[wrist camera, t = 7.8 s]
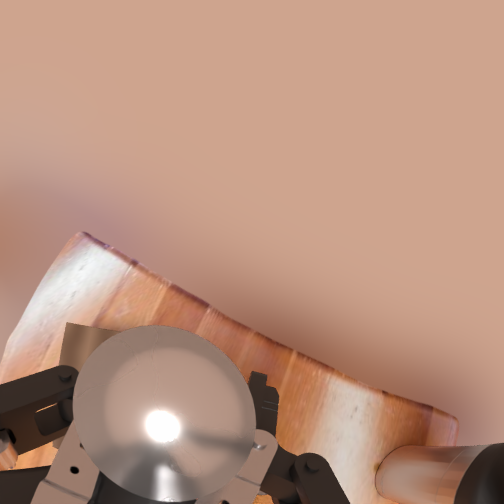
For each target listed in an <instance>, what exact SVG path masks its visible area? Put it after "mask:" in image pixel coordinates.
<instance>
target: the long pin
mask: <svg viewBox="0 0 504 504" xmlns="http://www.w3.org/2000/svg"><path fill="white" fill-rule="evenodd" d="M73 416H74V422H75V426H76V431H77V433H78V436H79V439H80V441H81V443H82V445H83V447H84V449H85V451H86V453H87V454H88V456H89V457H90V459H91V460H92V462H93V463H94V464H95V465H96V466H97V467H98V468H99V470H100V471H101V472H102V473H103V474H105V475H106V476H107V477H108V478H109V479H110V480H112V481H113V482H114V483H116V484H117V485H119V486H120V487H122V488H124V489H126V490H128V491H129V492H131V493H134V494H136V495H139V496H142V497H145V498H148V499H152V500H158V501H166V502H181V501H189V500H194V499H197V498H201V497H204V496H207V495H209V494H211V493H213V492H215V491H217V490H219V489H220V488H222V487H223V486H225V485H226V484H227V483H228V482H229V481H231V480H232V479H233V478H234V477H235V476H236V475H237V473H238V472H239V471H240V470H241V469H242V467H243V465H244V464H245V462H246V460H247V459H248V457H249V454H250V452H251V449H252V446H253V442H254V438H255V430H256V414H255V408H254V403H253V398H252V396H251V393H250V390H249V387H248V385H247V383H246V381H245V379H244V377H243V376H242V374H241V373H240V371H239V370H238V368H237V367H236V365H235V364H234V363H233V362H232V361H231V360H230V358H229V357H228V356H227V355H226V354H224V353H223V352H222V351H221V350H220V349H219V348H218V347H216V346H215V345H213V344H212V343H211V342H209V341H208V340H206V339H204V338H202V337H200V336H199V335H196V334H194V333H191V332H189V331H186V330H183V329H179V328H176V327H169V326H159V325H150V326H140V327H136V328H131V329H128V330H125V331H122V332H120V333H118V334H116V335H114V336H112V337H110V338H109V339H107V340H106V341H104V342H103V343H102V344H101V345H99V346H98V347H97V348H96V349H95V350H94V351H93V352H92V354H91V355H90V356H89V357H88V358H87V360H86V362H85V363H84V365H83V366H82V368H81V370H80V373H79V375H78V377H77V381H76V384H75V388H74V394H73Z"/></svg>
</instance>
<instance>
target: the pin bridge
mask: <svg viewBox="0 0 504 504" xmlns="http://www.w3.org/2000/svg"><path fill="white" fill-rule="evenodd" d="M118 333H120V331H113V330H107V329H101V328H95V327H89V326H83V325H78V324H73V323H68V322H67V323H66V328H65V333H64V338H63V343H62V349H61V355H60V361H59V366H60V365H68V366H71V367H74V368H75V369H77V370H78V372H79V373H80V370H81V368H82V366H83V365H84V363H85V362H86V360H87V358H88V357H89V356H90V355H91V354H92V352H93V351H94V350H95V349H96V348H97V347H98V346H99V345H101V344H102V343H103V342H104V341H106V340H107V339H109V338H110V337H112V336H114V335H116V334H118ZM54 405H56V403H55V404H54ZM64 437H65V436H62V437H60V438H58V439H56V440H54V441H53V447H55V448H57V449H59V448H60V445H61V443H62V441H63V439H64Z"/></svg>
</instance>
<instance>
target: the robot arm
mask: <svg viewBox="0 0 504 504" xmlns="http://www.w3.org/2000/svg"><path fill="white" fill-rule="evenodd" d="M78 375H79V372H78V370H77V369H75V368H74V367H71V366H68V365H60V366H56V367H53V368H50V369H47V370H44V371H41V372H38V373H35V374H32V375H29V376H26V377H23V378H20V379H17V380H14V381H10V382H7V383H4V384H1V385H0V504H252V503H253V501H254V499H255V497H256V496H257V494H258V492H259V490H260V491H262V492H264V493H266V494H268V495H270V496H271V497H272V500H273V503H274V504H350V502H349V500H348V499H347V497H346V495H345V493H344V491H343V489H342V488H341V486H340V484H339V482H338V480H337V478H336V477H335V475H334V473H333V471H332V469H331V467H330V465H329V463H328V462H327V461H326V459H324V458H323V457H322V456H320V455H318V454H315V453H304V454H301V455H299V456H296V455H294V454H292V453H289V452H287V451H286V450H284V449H283V448H282V447H280V445H279V444H278V442H277V440H276V437H275V434H276V424H277V414H278V412H277V411H278V403H279V395H278V392H277V390H276V388H274V387H270V386H266V381H267V375H265V374H262V373H258V372H254V371H252V372H251V375H250V378H249V381H248V384H247V385H248V387H249V390H250V393H251V396H252V398H253V403H254V408H255V414H256V430H255V438H254V442H253V446H252V449H251V452H250V454H249V457H248V459H247V460H246V462H245V464H244V465H243V467H242V469H241V470H240V471H239V472H238V473H237V475H236V476H235V477H234V478H233V479H232V480H231V481H229V482H228V483H227V484H226V485H225V486H223V487H222V488H220V489H219V490H217V491H215V492H213V493H211V494H209V495H207V496H204V497H201V498H198V499H197V500H196V499H194V500H189V501H181V502H166V501H158V500H152V499H148V498H145V497H142V496H139V495H136V494H134V493H131V492H129V491H128V490H126V489H124V488H122V487H120V486H119V485H117V484H116V483H114V482H113V481H112V480H110V479H109V478H108V477H107V476H106V475H105V474H103V473H102V472H101V471H100V470H99V468H98V467H97V466H96V465H95V464H94V463H93V462H92V460H91V459H90V457H89V456H88V454H87V453H86V451H85V449H84V447H83V445H82V443H81V441H80V439H79V436H78V433H77V431H76V426H75V422H74V416H73V394H74V388H75V384H76V381H77V377H78ZM55 403H56V405H54V406H51V407H49V408H46V409H44V410H41V411H39V412H36V411H38V410H40V409H42V408H45V407H48V406H50V405H53V404H55ZM35 412H36V413H35ZM62 436H65V437H64V439H63V441H62V443H61V445H60V448H59V450H58V452H57V454H56V456H55V458H54V461H53V463H52V465H49V466H42V467H35V468H27V469H17V470H8V469H9V468H10V469H12V468H14V467H15V466H16V462H17V459H18V455H21V454H23V453H26V452H28V451H31V450H33V449H35V448H38V447H40V446H42V445H45V444H47V443H49V442H51V441H54V440H56V439H58V438H60V437H62ZM375 484H376V489H377V491H378V493H379V494H380V495H381V496H383V497H384V498H387V499H389V500H392V501H394V502H397V503H399V504H504V443H499V444H490V445H477V446H417V445H405V446H402V447H399V448H397V449H395V450H394V451H392V452H391V453H390V454H389V455H388V456H387V457H386V458H385V459H384V460H383V462H382V463H381V465H380V467H379V468H378V471H377V474H376V479H375Z"/></svg>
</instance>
